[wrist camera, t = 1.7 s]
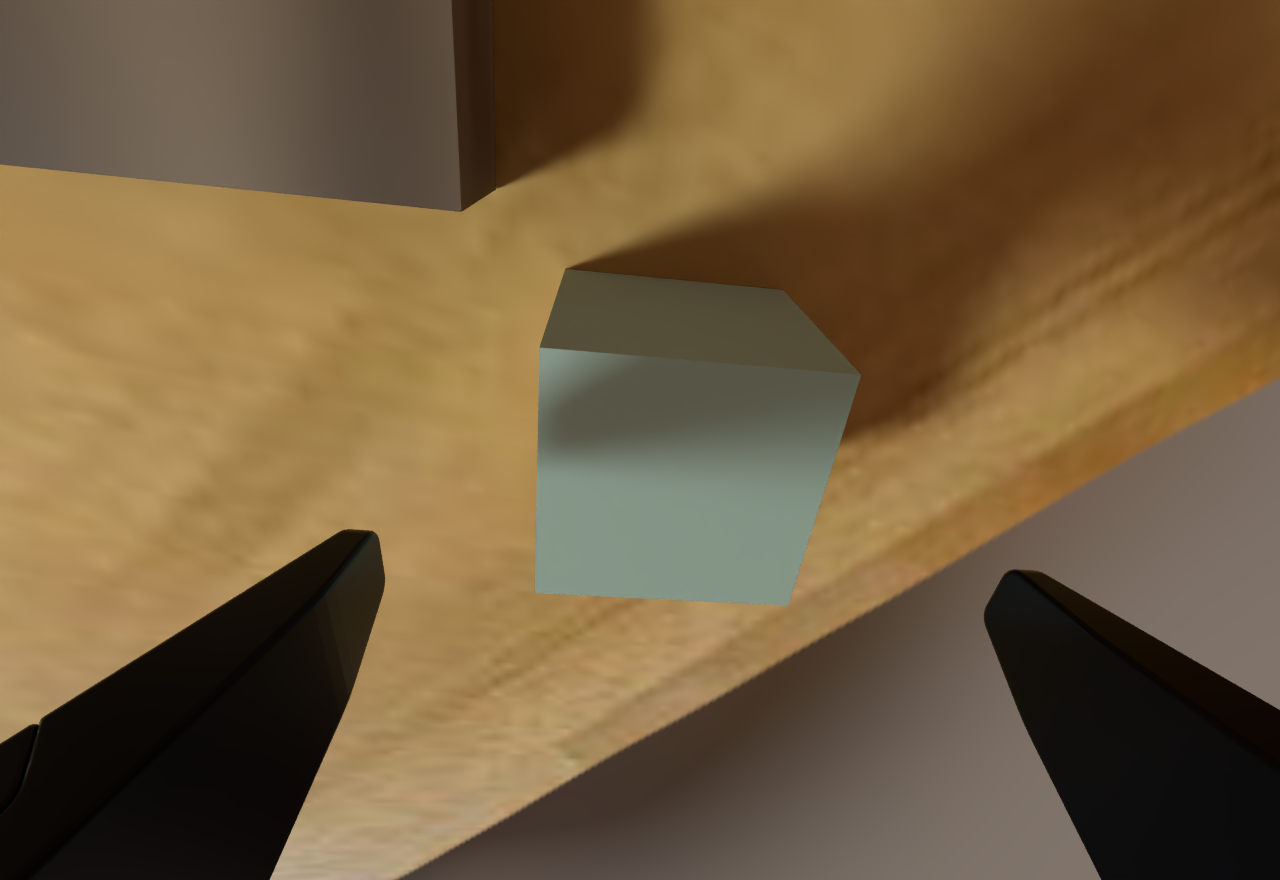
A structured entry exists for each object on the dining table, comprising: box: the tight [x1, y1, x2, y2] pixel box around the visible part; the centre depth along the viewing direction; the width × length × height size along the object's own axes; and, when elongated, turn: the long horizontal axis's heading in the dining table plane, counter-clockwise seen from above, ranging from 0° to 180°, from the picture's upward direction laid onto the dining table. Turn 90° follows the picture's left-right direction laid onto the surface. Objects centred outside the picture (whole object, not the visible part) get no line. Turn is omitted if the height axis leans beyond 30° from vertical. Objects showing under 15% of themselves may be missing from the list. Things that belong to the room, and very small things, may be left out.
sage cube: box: [535, 269, 861, 606], centre depth 12 cm, size 5×5×5 cm
